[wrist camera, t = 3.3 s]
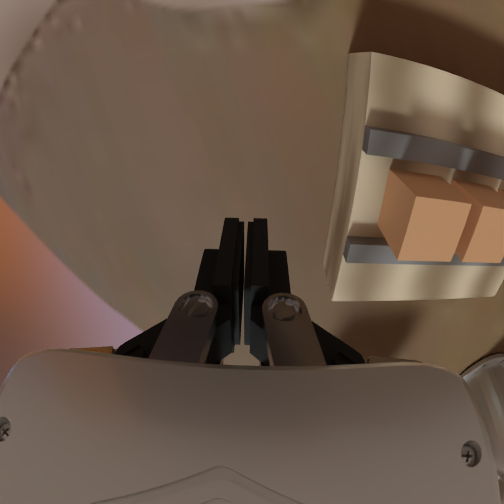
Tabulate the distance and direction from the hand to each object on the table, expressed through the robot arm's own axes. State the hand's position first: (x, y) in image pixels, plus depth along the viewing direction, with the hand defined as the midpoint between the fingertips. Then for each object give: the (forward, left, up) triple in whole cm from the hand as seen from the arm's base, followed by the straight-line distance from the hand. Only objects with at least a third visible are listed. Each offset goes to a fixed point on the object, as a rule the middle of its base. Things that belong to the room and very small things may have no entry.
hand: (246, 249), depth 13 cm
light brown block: (-15, 0, -7) cm, 17 cm away
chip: (-10, 0, -7) cm, 12 cm away
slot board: (-15, 0, -12) cm, 19 cm away
